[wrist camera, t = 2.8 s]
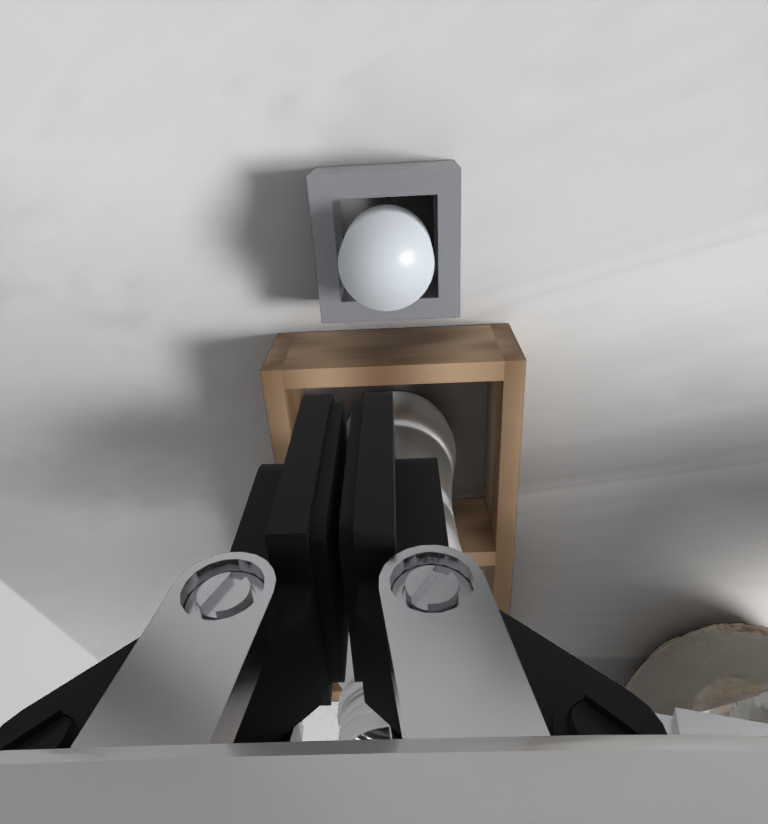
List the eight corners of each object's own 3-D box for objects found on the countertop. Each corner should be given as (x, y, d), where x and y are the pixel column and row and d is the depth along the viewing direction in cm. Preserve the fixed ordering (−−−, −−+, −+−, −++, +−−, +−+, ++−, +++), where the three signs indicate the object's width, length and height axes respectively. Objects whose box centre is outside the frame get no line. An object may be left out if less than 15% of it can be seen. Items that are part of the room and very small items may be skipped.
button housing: (454, 159, 28) (461, 168, 25) (453, 295, 31) (460, 317, 28) (315, 167, 29) (306, 176, 26) (329, 300, 32) (321, 323, 29)
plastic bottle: (367, 487, 37) (340, 840, 20) (324, 396, 34) (249, 716, 17) (466, 458, 36) (532, 805, 19) (431, 361, 33) (470, 665, 16)
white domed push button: (431, 201, 26) (433, 212, 24) (432, 291, 28) (435, 309, 26) (339, 206, 26) (333, 217, 24) (346, 295, 28) (342, 313, 26)
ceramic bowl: (535, 759, 50) (565, 901, 42) (577, 548, 40) (630, 680, 31) (801, 764, 50) (888, 908, 41) (918, 553, 39) (1069, 687, 30)
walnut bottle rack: (508, 323, 32) (526, 360, 28) (493, 637, 43) (504, 698, 39) (278, 333, 33) (259, 371, 28) (322, 640, 44) (314, 701, 40)
